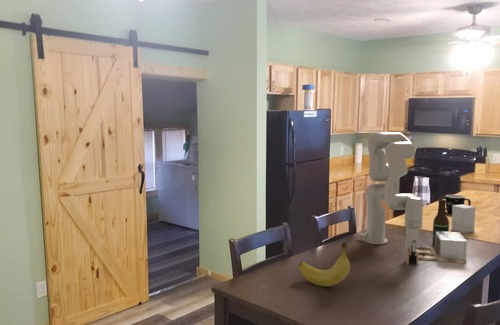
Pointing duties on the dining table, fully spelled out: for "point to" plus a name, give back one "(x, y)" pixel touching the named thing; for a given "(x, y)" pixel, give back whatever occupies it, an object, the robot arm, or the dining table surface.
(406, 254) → the jaw block
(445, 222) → the beer bottle
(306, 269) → the banana
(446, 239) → the cover
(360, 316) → the dining table surface
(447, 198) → the mug
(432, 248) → the housing base
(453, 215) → the supplement box
